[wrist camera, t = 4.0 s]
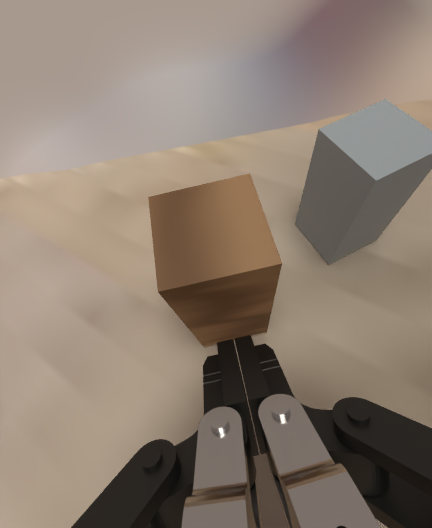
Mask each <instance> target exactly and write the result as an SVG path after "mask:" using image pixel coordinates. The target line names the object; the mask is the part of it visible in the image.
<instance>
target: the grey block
mask: <svg viewBox="0 0 432 528" xmlns="http://www.w3.org/2000/svg"><path fill="white" fill-rule="evenodd" d="M431 169H432V131H431V130H430V129H428V128H427V127H425V126H424V125H422V124H421V123H420V122H418V121H417V120H415V119H414V118H412V117H411V116H409V115H408V114H407V113H405V112H404V111H402V110H401V109H399V108H398V107H396V106H395V105H393V104H392V103H391V102H389V101H388V100H386V99H384V100H382V101H380V102H378V103H375V104H374V105H371V106H369V107H367V108H364V109H362V110H360V111H358V112H356V113H353V114H351V115H349V116H347V117H345V118H342V119H340V120H338V121H336V122H333V123H331V124H329V125H327V126H325V127H322V128H320V129H319V130H318V134H317V138H316V142H315V146H314V150H313V154H312V158H311V162H310V166H309V170H308V174H307V178H306V182H305V186H304V190H303V194H302V198H301V202H300V206H299V210H298V214H297V218H296V222H295V224H296V226H297V227H298V228H299V229H300V231H301V232H302V233H303V234H304V236H305V237H306V238H307V239H308V241H309V242H310V243H311V244H312V245H313V247H314V248H315V249H316V250H317V252H318V253H319V254H320V255H321V257H322V258H323V259H324V260H325V262H326V263H327V264H328V265H330V264H331V263H333V262H335V261H337V260H339V259H341V258H343V257H345V256H347V255H349V254H351V253H353V252H355V251H356V250H358V249H360V248H362V247H364V246H366V245H368V244H370V243H372V242H374V241H376V240H377V239H378V237H379V236H380V235H381V234H382V232H383V231H384V230H385V228H386V227H387V226H388V225H389V223H390V222H391V221H392V219H393V218H394V217H395V215H396V214H397V213H398V212H399V210H400V209H401V208H402V206H403V205H404V204H405V203H406V201H407V200H408V199H409V197H410V196H411V195H412V194H413V192H414V191H415V190H416V188H417V187H418V186H419V185H420V183H421V182H422V181H423V179H424V178H425V177H426V176H427V174H428V173H429V172H430V170H431Z"/></svg>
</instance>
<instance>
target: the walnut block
mask: <svg viewBox="0 0 432 528" xmlns="http://www.w3.org/2000/svg"><path fill="white" fill-rule="evenodd" d="M148 198H149V208H150V217H151V227H152V237H153V247H154V257H155V267H156V277H157V286H158V292H159V294H160V295H161V296H162V297H163V298H164V300H165V301H166V302H167V303H168V304H169V306H170V307H171V308H172V309H173V310H174V312H175V313H176V314H177V315H178V316H179V317H180V319H181V320H182V321H183V322H184V323H185V325H186V326H187V327H188V328H189V329H190V331H191V332H192V333H193V334H194V335H195V337H196V338H197V339H198V340H199V341H200V343H201V344H202V345H203V346H204V347H207V346H211V345H216V344H217V342H221V341H226V340H230V339H233V341H234V340H235V339H234V338H239V337H243V336H247V335H251V336H256V335H260V334H265V333H266V332H267V328H268V324H269V319H270V315H271V310H272V306H273V301H274V297H275V292H276V288H277V283H278V279H279V275H280V270H281V266H282V262H281V259H280V257H279V254H278V251H277V248H276V245H275V243H274V240H273V237H272V234H271V231H270V229H269V226H268V223H267V220H266V217H265V214H264V212H263V209H262V206H261V203H260V200H259V198H258V195H257V192H256V189H255V186H254V184H253V181H252V178H251V175H250V174H246V175H242V176H237V177H233V178H229V179H224V180H220V181H216V182H211V183H207V184H203V185H199V186H194V187H190V188H186V189H181V190H177V191H173V192H169V193H164V194H160V195H156V196H151V197H148Z"/></svg>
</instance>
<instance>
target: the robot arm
mask: <svg viewBox="0 0 432 528" xmlns="http://www.w3.org/2000/svg"><path fill="white" fill-rule="evenodd" d="M234 339H235V343H236V347H237V352H238V356H239V361H240V365H241V370H242V374H243V378H244V383H245V387H246V392H247V396H248V400H249V405H250V409H251V413H252V418H253V422H254V427H255V431H256V435H257V440H258V444H259V448H260V453H261V454H264V453H267V457H268V461H269V465H270V469H271V473H272V478H273V481H274V484H275V487H276V491H277V494H278V497H279V500H280V503H281V506H282V509H283V512H284V515H285V518H286V521H287V525H288V528H381V527H380V526H379V524H378V522H377V521H376V519H377V520H379V521H380V522H381V523H383V524H384V525H386V526H387V527H388V528H432V428H429V427H427V426H425V425H422V424H420V423H418V422H416V421H413V420H411V419H409V418H407V417H404V416H402V415H400V414H397V413H395V412H393V411H391V410H388V409H386V408H384V407H381V406H379V405H377V404H375V403H372V402H370V401H368V400H365V399H362V398H356V397H350V398H344V399H342V400H340V401H338V402H337V403H336V404H335V405H334V407H333V410H320V409H313V408H309V407H307V406H305V405H303V404H301V403H300V402H299V401H298V400H297V399H296V398H295V397H294V396H293V394H292V391H291V389H290V387H289V385H288V382H287V380H286V378H285V376H284V373H283V371H282V369H281V367H280V364H279V362H278V360H277V358H276V355H275V353H274V351H273V349H271V348H270V347H269V346H267V345H266V344H261V345H257V346H254V344H253V341H252V338H251V335H247V336H243V337H239V338H234ZM217 347H218V355H213V356H209V357H207V359H206V361H205V363H204V365H203V376H204V377H203V383H204V385H203V386H204V416H203V418H202V419H201V421H200V423H199V428H198V430H197V432H196V433H195V434H194V435H192V436H191V437H190V438H188V439H187V440H185V441H183V442H181V443H179V444H178V445H176V446H174V445H173V444H172V443H171V442H169V441H167V440H164V439H159V440H154V441H151V442H149V443H147V444H146V445H144V446H143V447H142V448H141V449H140V450H139V451H138V452H137V453H136V454H135V455H134V456H133V457H132V459H131V460H130V461H129V462H128V463H127V464H126V465H125V467H124V468H123V469H122V470H121V471H120V472H119V473H118V475H117V476H116V477H115V478H114V479H113V480H112V481H111V483H110V484H109V485H108V486H107V487H106V488H105V490H104V491H103V492H102V493H101V494H100V495H99V496H98V498H97V499H96V500H95V501H94V502H93V503H92V504H91V506H90V507H89V508H88V509H87V510H86V511H85V512H84V514H83V515H82V516H81V517H80V518H79V519H78V520H77V522H76V523H75V524H74V525H73V526H72V527H71V528H262V521H261V513H260V505H259V497H258V488H257V481H256V468H255V463H254V458H253V456H256V455H259V453H258V448H257V444H256V439H255V434H254V430H253V425H252V421H251V416H250V412H249V407H248V403H247V398H246V393H245V389H244V384H243V380H242V375H241V371H240V367H239V362H238V358H237V354H236V349H235V345H234V341H233V339H230V340H226V341H221V342H217ZM375 518H376V519H375Z"/></svg>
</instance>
